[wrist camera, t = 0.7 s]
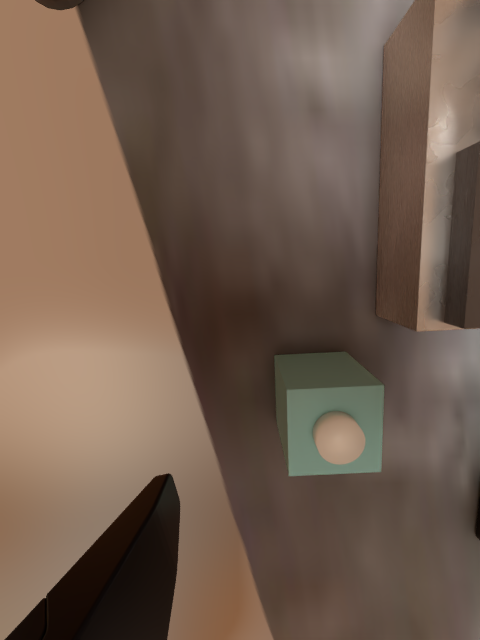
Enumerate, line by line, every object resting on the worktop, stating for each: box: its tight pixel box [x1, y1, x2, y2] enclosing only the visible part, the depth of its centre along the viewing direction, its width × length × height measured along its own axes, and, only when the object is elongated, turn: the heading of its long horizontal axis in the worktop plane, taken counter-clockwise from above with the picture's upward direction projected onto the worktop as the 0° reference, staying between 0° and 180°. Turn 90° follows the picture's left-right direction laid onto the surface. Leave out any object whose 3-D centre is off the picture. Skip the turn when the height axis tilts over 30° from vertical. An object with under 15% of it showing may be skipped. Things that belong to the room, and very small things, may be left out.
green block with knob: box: [274, 352, 384, 476], centre depth 19 cm, size 5×5×7 cm
